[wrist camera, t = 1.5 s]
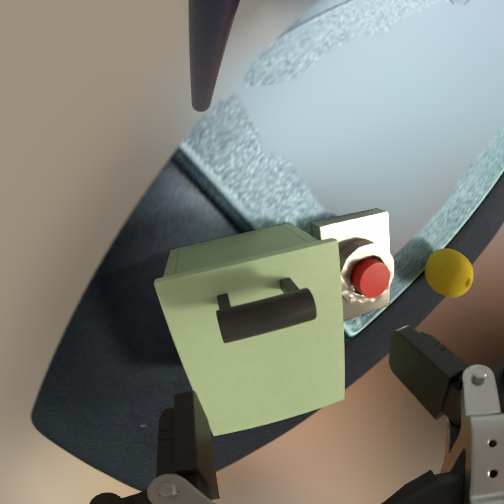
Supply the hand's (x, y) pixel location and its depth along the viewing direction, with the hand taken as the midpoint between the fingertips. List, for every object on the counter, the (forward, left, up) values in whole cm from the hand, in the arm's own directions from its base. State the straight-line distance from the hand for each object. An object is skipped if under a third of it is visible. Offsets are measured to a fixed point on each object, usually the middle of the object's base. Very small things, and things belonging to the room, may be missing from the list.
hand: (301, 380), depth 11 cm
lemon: (+8, +24, -20) cm, 32 cm away
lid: (+5, 0, -9) cm, 11 cm away
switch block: (+5, +12, -19) cm, 23 cm away
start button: (+5, +12, -16) cm, 20 cm away
